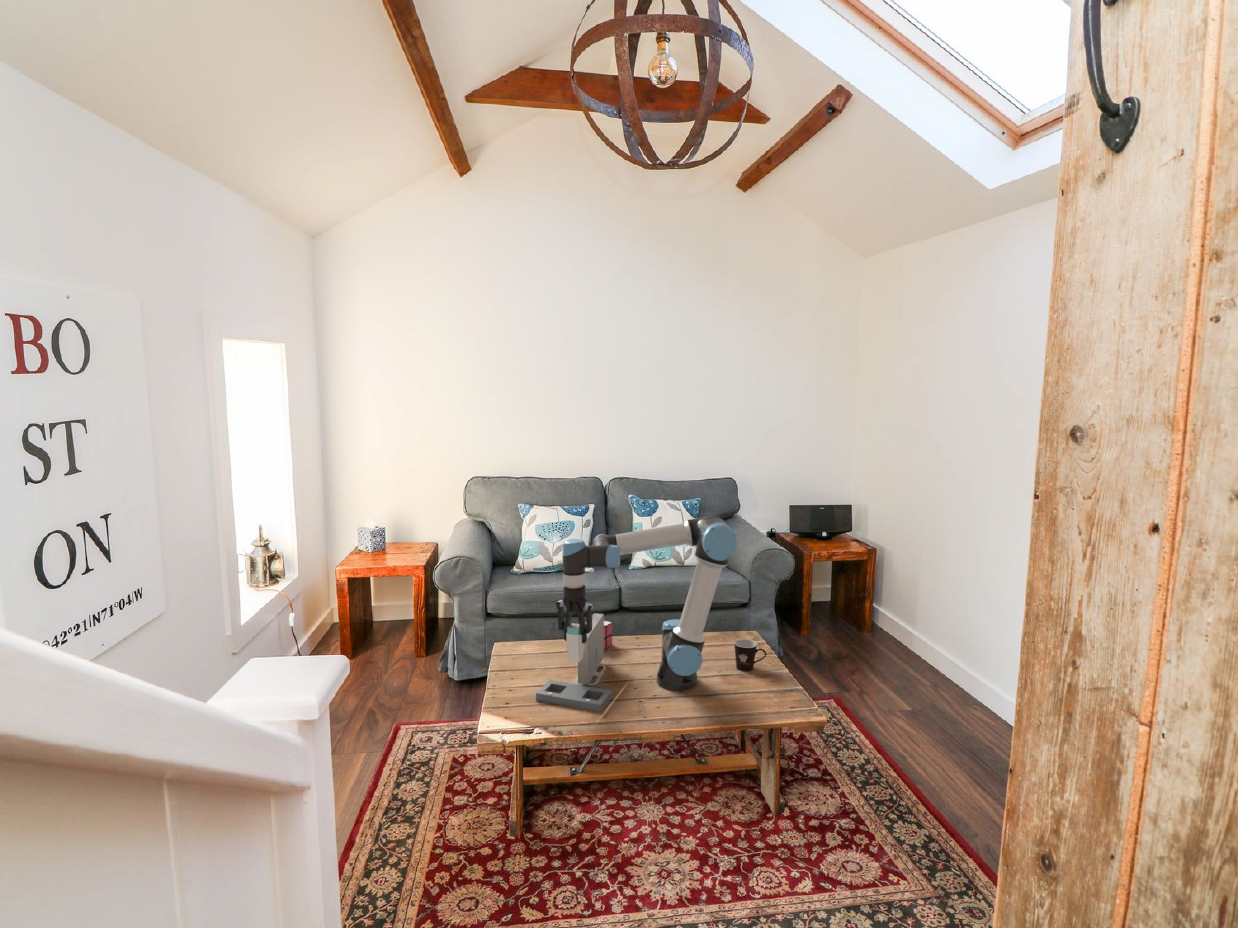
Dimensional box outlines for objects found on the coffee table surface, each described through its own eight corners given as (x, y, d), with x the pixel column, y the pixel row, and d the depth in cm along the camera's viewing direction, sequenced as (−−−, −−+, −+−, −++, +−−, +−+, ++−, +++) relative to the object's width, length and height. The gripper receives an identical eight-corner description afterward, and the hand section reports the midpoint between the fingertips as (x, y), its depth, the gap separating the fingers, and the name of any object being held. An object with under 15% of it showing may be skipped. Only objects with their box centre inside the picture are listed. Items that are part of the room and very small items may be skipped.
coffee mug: (728, 667, 261) (729, 642, 259) (742, 661, 266) (743, 637, 265) (753, 677, 252) (754, 652, 251) (766, 671, 258) (767, 646, 256)
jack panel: (611, 698, 234) (612, 689, 234) (600, 713, 224) (600, 703, 224) (549, 687, 242) (549, 678, 242) (535, 701, 232) (535, 692, 231)
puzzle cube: (612, 645, 281) (612, 622, 280) (599, 653, 273) (599, 629, 272) (593, 640, 287) (593, 617, 285) (579, 647, 278) (579, 624, 277)
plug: (583, 657, 232) (582, 624, 231) (578, 662, 229) (578, 628, 227) (572, 655, 234) (572, 622, 232) (567, 660, 230) (567, 627, 229)
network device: (594, 691, 240) (594, 637, 237) (570, 688, 241) (570, 635, 239) (609, 662, 264) (609, 613, 262) (587, 660, 266) (588, 611, 264)
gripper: (601, 584, 228) (602, 649, 231) (556, 579, 234) (557, 643, 237) (593, 590, 221) (594, 658, 224) (546, 585, 227) (548, 651, 230)
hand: (575, 650), depth 231 cm, fingers closed on plug, 4 cm apart
